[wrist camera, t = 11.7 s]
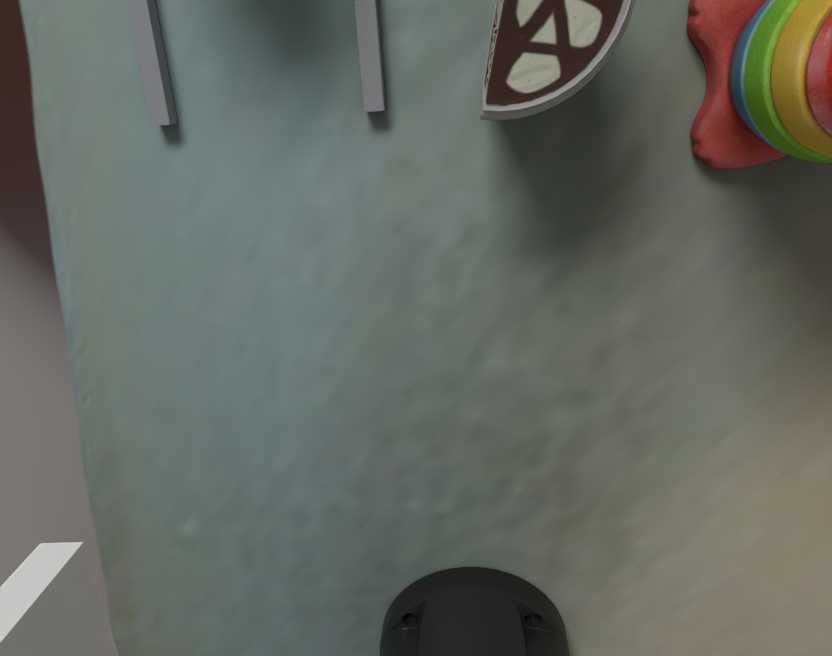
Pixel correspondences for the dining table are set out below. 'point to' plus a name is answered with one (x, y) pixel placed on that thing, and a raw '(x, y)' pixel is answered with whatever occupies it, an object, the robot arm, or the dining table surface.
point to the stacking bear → (763, 81)
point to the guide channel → (158, 75)
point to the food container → (547, 52)
